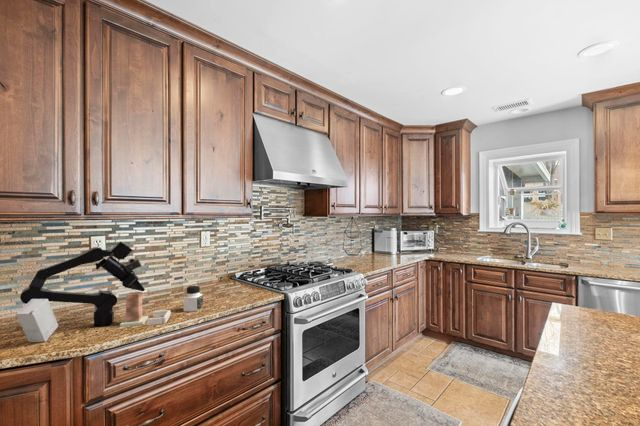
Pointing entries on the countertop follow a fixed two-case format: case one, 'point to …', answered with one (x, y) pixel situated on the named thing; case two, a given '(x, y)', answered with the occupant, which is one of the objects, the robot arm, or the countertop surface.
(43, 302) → the skincare box
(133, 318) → the pink rectangular block
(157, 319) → the toolbox compartment
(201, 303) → the medicine bottle
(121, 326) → the lid board
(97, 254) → the robot arm
